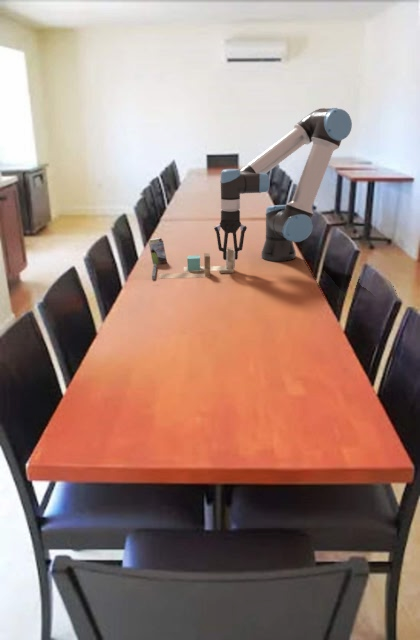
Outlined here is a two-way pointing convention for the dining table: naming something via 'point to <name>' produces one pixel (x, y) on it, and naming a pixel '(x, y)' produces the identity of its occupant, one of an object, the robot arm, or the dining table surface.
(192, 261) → the block
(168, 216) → the dining table surface
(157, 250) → the beverage can
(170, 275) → the strip oak
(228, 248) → the beige long angled piece
